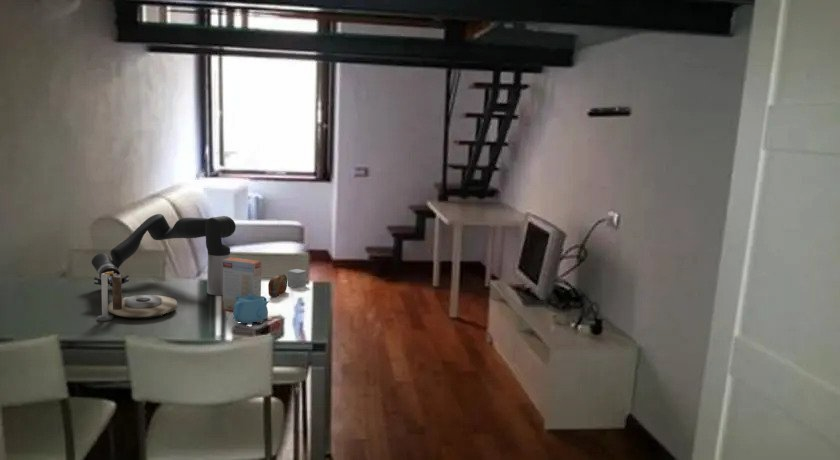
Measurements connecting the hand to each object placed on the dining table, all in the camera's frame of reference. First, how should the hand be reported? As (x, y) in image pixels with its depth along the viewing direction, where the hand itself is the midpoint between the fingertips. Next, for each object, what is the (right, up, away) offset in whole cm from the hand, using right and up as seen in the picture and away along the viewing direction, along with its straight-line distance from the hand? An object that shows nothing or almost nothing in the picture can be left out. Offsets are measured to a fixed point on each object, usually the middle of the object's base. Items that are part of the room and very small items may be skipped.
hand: (114, 284), depth 243 cm
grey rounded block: (+59, -5, +53) cm, 79 cm away
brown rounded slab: (+54, -8, +36) cm, 65 cm away
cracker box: (+46, -12, +9) cm, 48 cm away
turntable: (+11, -9, +1) cm, 14 cm away
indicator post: (+1, -12, -10) cm, 15 cm away
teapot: (+53, -14, -4) cm, 55 cm away
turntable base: (+10, -10, +1) cm, 15 cm away
